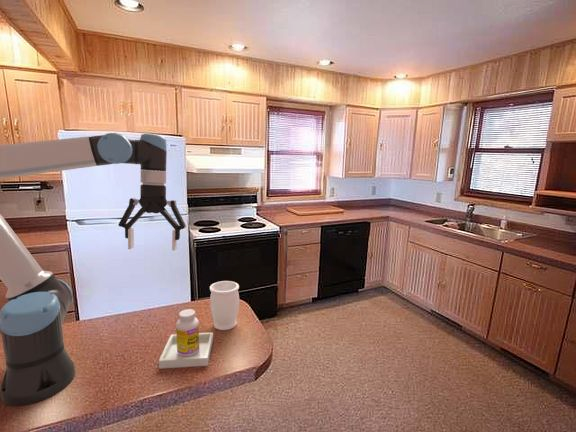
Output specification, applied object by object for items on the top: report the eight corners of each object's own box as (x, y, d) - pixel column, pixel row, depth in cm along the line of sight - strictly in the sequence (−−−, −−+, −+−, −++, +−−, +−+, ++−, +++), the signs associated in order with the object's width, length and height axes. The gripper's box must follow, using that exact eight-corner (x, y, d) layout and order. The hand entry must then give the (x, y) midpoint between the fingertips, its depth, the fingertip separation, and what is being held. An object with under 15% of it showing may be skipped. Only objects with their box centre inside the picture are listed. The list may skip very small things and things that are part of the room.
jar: (205, 323, 111) (204, 285, 109) (229, 314, 118) (229, 278, 116) (220, 335, 103) (219, 294, 101) (245, 325, 110) (244, 286, 108)
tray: (159, 368, 86) (158, 360, 86) (171, 341, 100) (171, 334, 99) (207, 365, 88) (207, 357, 88) (213, 339, 101) (213, 332, 101)
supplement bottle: (187, 360, 89) (185, 320, 87) (172, 353, 93) (170, 314, 91) (204, 348, 95) (202, 311, 93) (189, 342, 98) (188, 305, 96)
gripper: (195, 186, 102) (193, 247, 104) (117, 181, 99) (117, 245, 101) (191, 186, 95) (189, 252, 97) (106, 182, 91) (107, 250, 94)
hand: (152, 249), depth 99 cm, fingers open, 13 cm apart
